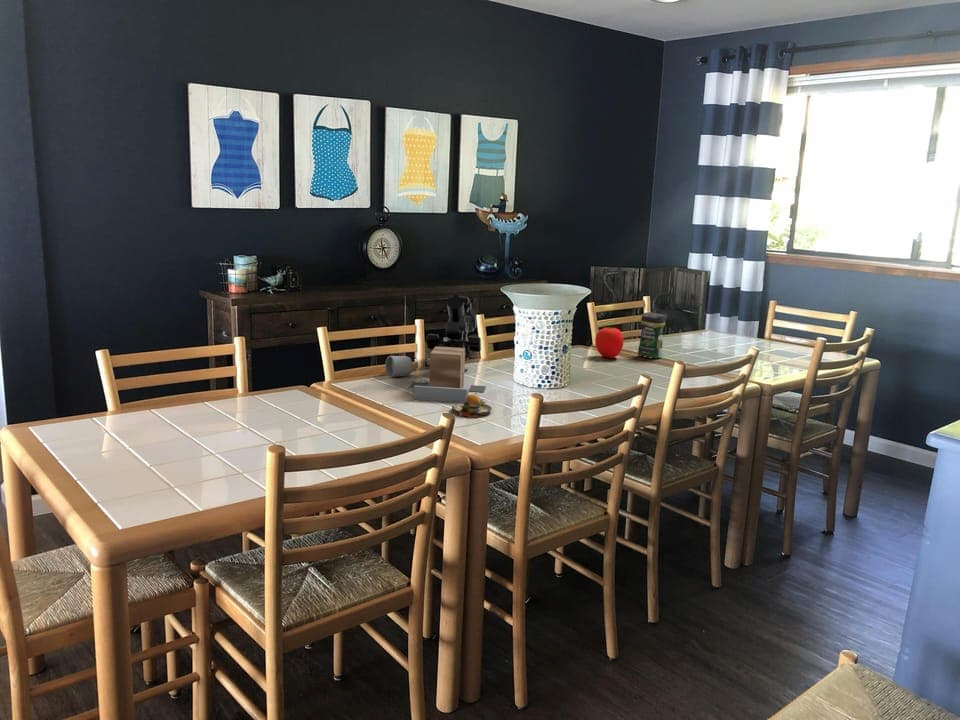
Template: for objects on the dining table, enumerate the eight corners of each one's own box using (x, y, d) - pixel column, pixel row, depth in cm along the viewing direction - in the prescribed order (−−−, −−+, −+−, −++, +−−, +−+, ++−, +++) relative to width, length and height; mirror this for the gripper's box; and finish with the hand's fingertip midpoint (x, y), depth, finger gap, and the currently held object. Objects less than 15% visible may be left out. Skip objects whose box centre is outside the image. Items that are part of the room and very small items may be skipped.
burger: (492, 408, 237) (493, 385, 235) (491, 419, 225) (492, 394, 224) (452, 406, 237) (453, 383, 235) (450, 417, 226) (451, 392, 224)
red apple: (626, 357, 320) (629, 327, 318) (616, 361, 311) (618, 330, 309) (601, 353, 326) (603, 323, 323) (590, 357, 317) (592, 326, 314)
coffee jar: (634, 356, 324) (638, 312, 320) (644, 353, 330) (648, 310, 326) (655, 360, 317) (659, 315, 314) (664, 357, 323) (669, 313, 319)
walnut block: (434, 383, 264) (435, 346, 261) (463, 385, 263) (465, 347, 260) (429, 392, 252) (430, 353, 249) (459, 394, 251) (461, 354, 249)
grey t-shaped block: (418, 392, 251) (418, 380, 250) (469, 395, 250) (469, 383, 249) (413, 398, 243) (414, 386, 242) (466, 402, 242) (466, 389, 241)
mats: (412, 382, 264) (412, 381, 264) (485, 386, 262) (485, 386, 262) (408, 387, 257) (408, 387, 256) (483, 392, 254) (483, 391, 254)
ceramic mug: (414, 377, 272) (414, 356, 270) (393, 379, 267) (394, 358, 266) (400, 371, 280) (400, 351, 279) (380, 373, 276) (380, 353, 274)
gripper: (427, 311, 268) (421, 348, 259) (481, 313, 266) (477, 351, 258) (430, 329, 277) (424, 366, 268) (482, 332, 275) (478, 369, 267)
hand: (451, 363), depth 265 cm, fingers closed
